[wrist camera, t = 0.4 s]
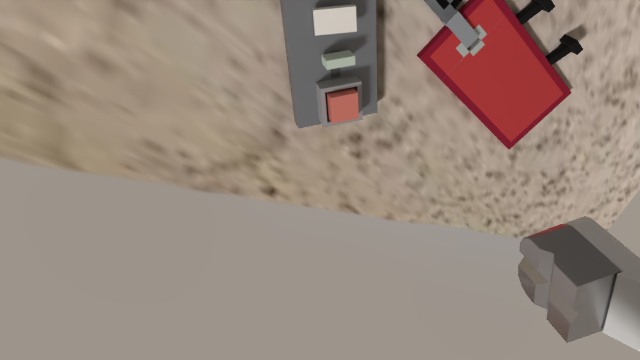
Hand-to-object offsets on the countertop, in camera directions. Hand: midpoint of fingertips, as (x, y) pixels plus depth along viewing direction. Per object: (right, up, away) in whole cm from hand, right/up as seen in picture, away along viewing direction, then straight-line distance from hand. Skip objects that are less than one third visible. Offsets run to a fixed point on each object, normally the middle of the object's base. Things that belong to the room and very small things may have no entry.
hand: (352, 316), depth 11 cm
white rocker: (+1, +20, +40) cm, 45 cm away
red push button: (+2, +12, +45) cm, 47 cm away
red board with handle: (+21, +20, +51) cm, 59 cm away
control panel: (0, +20, +43) cm, 48 cm away
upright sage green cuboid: (+1, +17, +43) cm, 46 cm away
